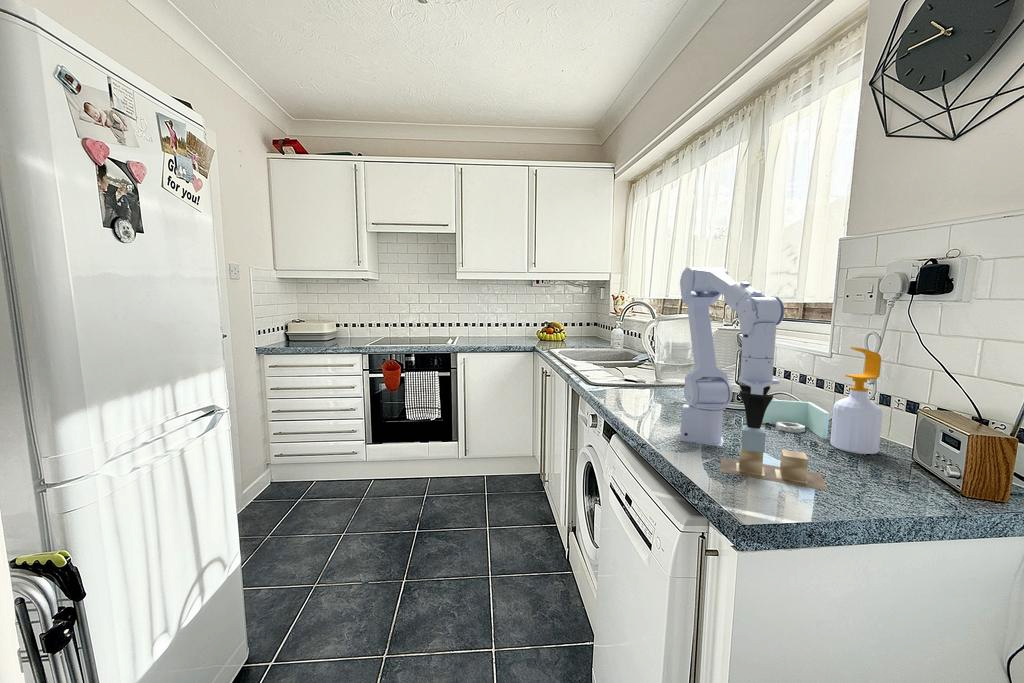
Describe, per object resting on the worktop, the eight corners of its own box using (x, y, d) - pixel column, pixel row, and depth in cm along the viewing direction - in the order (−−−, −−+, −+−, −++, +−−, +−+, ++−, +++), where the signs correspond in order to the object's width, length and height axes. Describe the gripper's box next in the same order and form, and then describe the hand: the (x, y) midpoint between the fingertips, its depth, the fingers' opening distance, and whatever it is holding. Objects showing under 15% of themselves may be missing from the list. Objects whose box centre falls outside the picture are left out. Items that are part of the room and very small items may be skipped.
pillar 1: (739, 470, 86) (740, 449, 86) (739, 464, 90) (740, 443, 89) (761, 474, 85) (763, 452, 84) (760, 467, 88) (762, 446, 88)
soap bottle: (821, 442, 106) (829, 345, 104) (858, 442, 106) (867, 345, 104) (848, 455, 98) (857, 349, 95) (889, 455, 97) (899, 349, 95)
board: (719, 474, 86) (719, 471, 86) (721, 459, 94) (721, 457, 94) (828, 493, 77) (828, 490, 77) (820, 476, 85) (820, 473, 85)
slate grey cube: (741, 449, 86) (742, 430, 86) (741, 443, 89) (742, 425, 89) (764, 452, 84) (765, 433, 84) (763, 446, 88) (764, 428, 87)
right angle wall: (761, 424, 124) (763, 399, 123) (808, 428, 120) (810, 402, 120) (774, 436, 112) (776, 409, 111) (827, 441, 109) (829, 413, 108)
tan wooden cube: (781, 477, 83) (783, 455, 83) (780, 470, 86) (781, 449, 86) (806, 482, 81) (808, 459, 81) (803, 474, 85) (805, 452, 84)
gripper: (784, 362, 77) (779, 435, 78) (777, 354, 89) (773, 416, 91) (740, 360, 80) (736, 429, 81) (740, 352, 93) (736, 412, 94)
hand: (753, 422), depth 86 cm, fingers open, 7 cm apart
